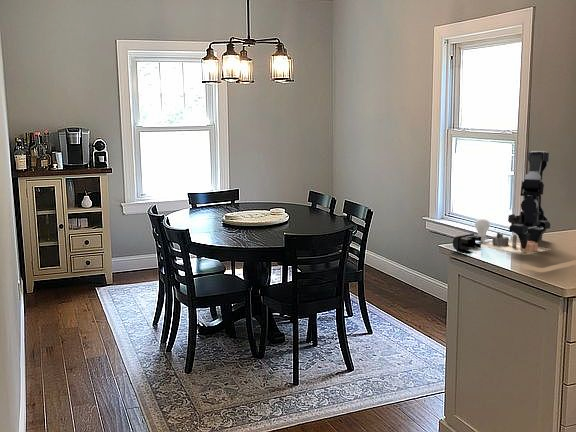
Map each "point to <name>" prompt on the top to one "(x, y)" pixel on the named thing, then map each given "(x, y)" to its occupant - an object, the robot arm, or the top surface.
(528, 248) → the loose gear
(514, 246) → the gear board
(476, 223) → the lightbulb
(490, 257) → the top surface
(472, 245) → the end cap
